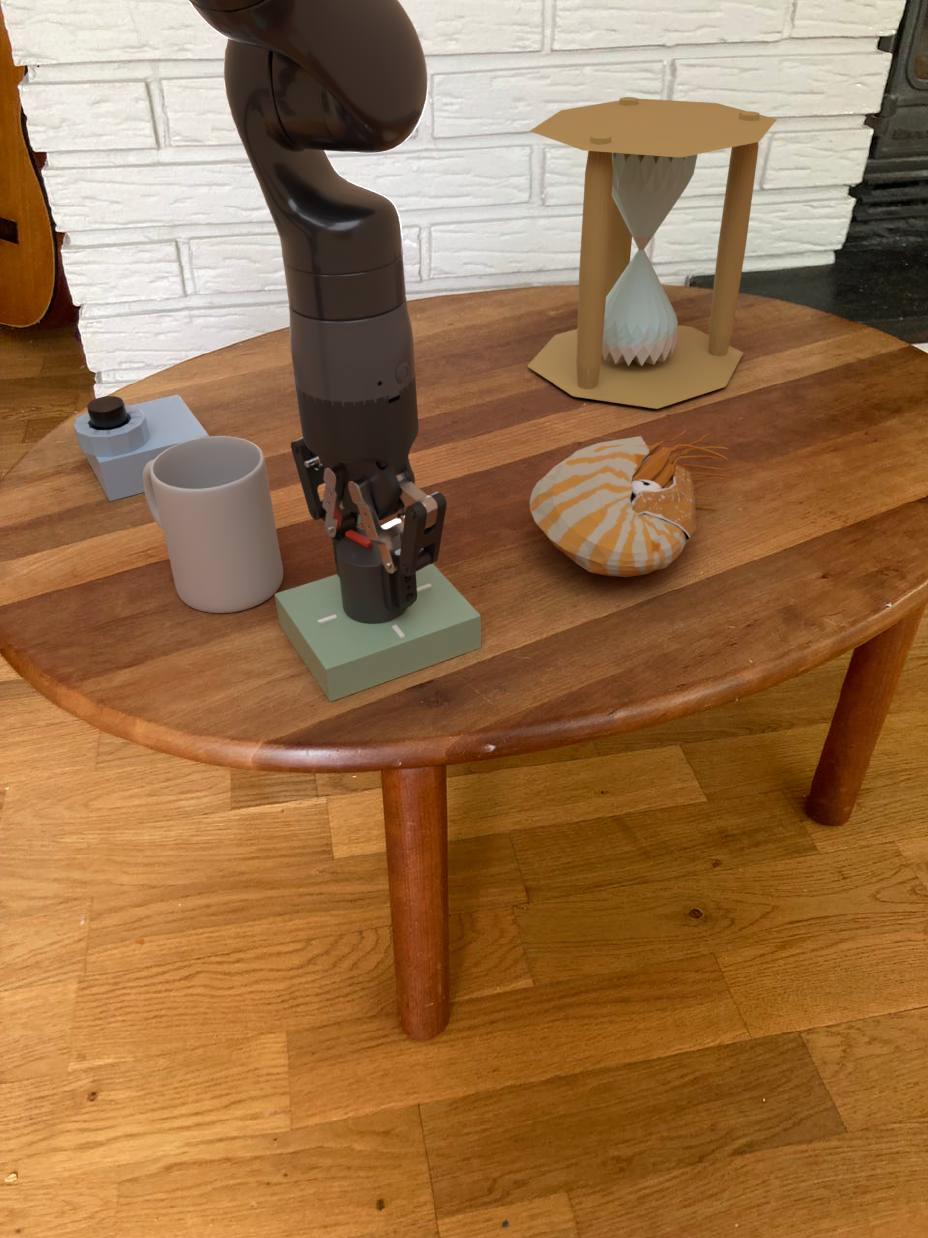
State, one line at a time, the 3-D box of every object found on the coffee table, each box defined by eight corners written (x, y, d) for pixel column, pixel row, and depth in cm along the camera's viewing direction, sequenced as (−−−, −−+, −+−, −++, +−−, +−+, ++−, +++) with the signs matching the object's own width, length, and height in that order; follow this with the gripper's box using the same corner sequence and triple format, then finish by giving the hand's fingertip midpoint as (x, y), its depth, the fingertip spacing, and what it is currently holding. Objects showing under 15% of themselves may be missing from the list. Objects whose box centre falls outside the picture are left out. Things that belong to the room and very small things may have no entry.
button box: (99, 504, 94) (83, 444, 90) (76, 457, 101) (60, 400, 97) (216, 473, 98) (205, 415, 94) (185, 430, 105) (174, 374, 101)
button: (96, 435, 92) (91, 414, 91) (88, 421, 94) (83, 400, 93) (132, 427, 93) (127, 406, 92) (123, 413, 96) (118, 392, 94)
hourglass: (612, 308, 128) (626, 83, 113) (778, 354, 116) (820, 110, 101) (489, 372, 114) (487, 126, 99) (664, 431, 102) (692, 162, 87)
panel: (330, 702, 72) (325, 667, 70) (279, 625, 79) (274, 591, 77) (481, 647, 76) (481, 613, 74) (420, 579, 83) (418, 546, 81)
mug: (306, 573, 84) (289, 452, 78) (231, 627, 79) (206, 503, 72) (200, 530, 90) (176, 414, 83) (124, 578, 84) (91, 458, 78)
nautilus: (677, 469, 97) (795, 551, 88) (485, 527, 88) (594, 625, 78) (694, 392, 92) (820, 468, 83) (492, 443, 83) (609, 537, 73)
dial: (422, 602, 76) (418, 541, 73) (373, 632, 73) (368, 570, 70) (377, 576, 78) (372, 516, 75) (329, 605, 76) (321, 544, 72)
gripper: (239, 356, 67) (276, 573, 77) (382, 427, 59) (401, 659, 69) (332, 323, 71) (355, 533, 81) (477, 385, 63) (483, 610, 73)
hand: (376, 590), depth 75 cm, fingers closed on dial, 5 cm apart
